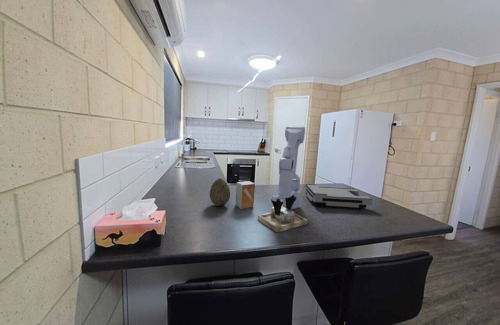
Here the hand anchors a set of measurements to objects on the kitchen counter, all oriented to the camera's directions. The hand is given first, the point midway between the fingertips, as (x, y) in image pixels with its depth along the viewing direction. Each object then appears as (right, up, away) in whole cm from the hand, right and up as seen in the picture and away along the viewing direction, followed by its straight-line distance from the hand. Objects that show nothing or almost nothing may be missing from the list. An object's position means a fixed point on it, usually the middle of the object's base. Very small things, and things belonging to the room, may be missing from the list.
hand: (282, 213), depth 95 cm
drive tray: (0, -4, +1) cm, 4 cm away
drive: (0, -3, +1) cm, 3 cm away
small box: (-18, -1, +17) cm, 25 cm away
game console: (+37, -2, +31) cm, 48 cm away
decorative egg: (-31, 0, +16) cm, 35 cm away
